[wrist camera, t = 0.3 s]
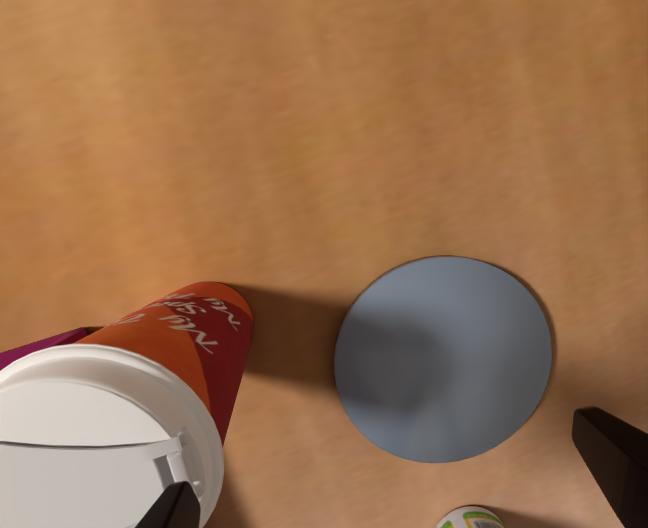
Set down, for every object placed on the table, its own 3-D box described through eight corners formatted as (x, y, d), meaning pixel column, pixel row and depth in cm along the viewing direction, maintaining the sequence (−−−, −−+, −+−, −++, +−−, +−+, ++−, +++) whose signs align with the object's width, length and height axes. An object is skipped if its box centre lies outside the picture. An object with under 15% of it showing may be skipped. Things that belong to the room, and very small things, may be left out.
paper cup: (254, 253, 23) (168, 336, 9) (282, 365, 24) (242, 586, 10) (131, 278, 23) (-141, 400, 9) (166, 389, 24) (-26, 641, 10)
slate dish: (459, 486, 26) (465, 497, 25) (293, 389, 25) (292, 397, 24) (584, 328, 24) (596, 333, 23) (414, 212, 23) (419, 212, 22)
